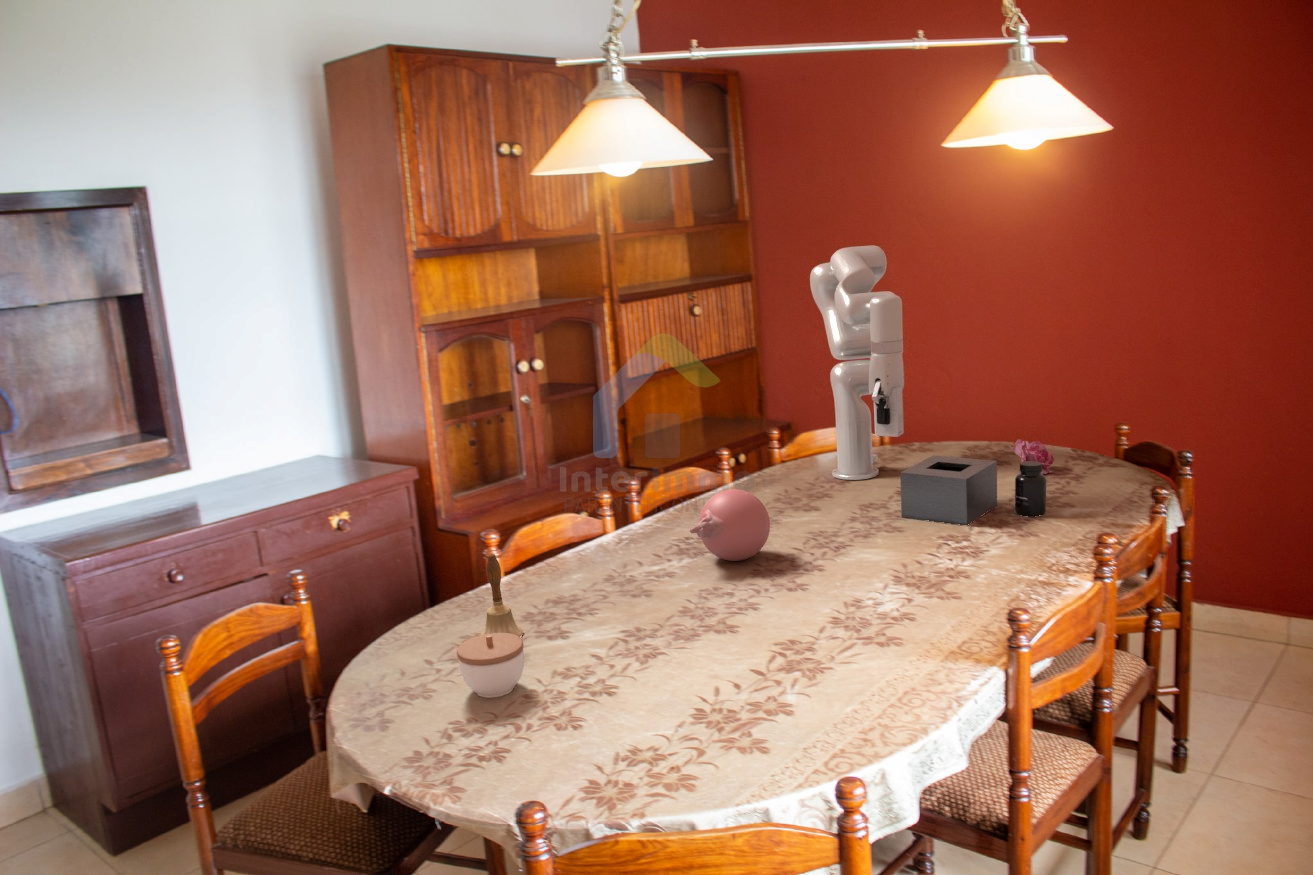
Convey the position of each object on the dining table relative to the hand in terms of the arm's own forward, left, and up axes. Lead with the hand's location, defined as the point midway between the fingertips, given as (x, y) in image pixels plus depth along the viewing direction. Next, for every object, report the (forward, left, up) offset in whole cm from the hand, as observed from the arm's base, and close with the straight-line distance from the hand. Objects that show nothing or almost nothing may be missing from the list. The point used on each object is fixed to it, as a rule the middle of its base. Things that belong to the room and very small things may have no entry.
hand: (888, 420), depth 250 cm
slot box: (0, +15, -21) cm, 26 cm away
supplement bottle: (-6, +32, -21) cm, 39 cm away
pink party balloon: (+53, -12, -21) cm, 59 cm away
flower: (-42, +21, -21) cm, 52 cm away
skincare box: (0, 0, -4) cm, 4 cm away
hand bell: (+106, -26, -21) cm, 111 cm away
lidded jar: (+122, -10, -21) cm, 125 cm away
